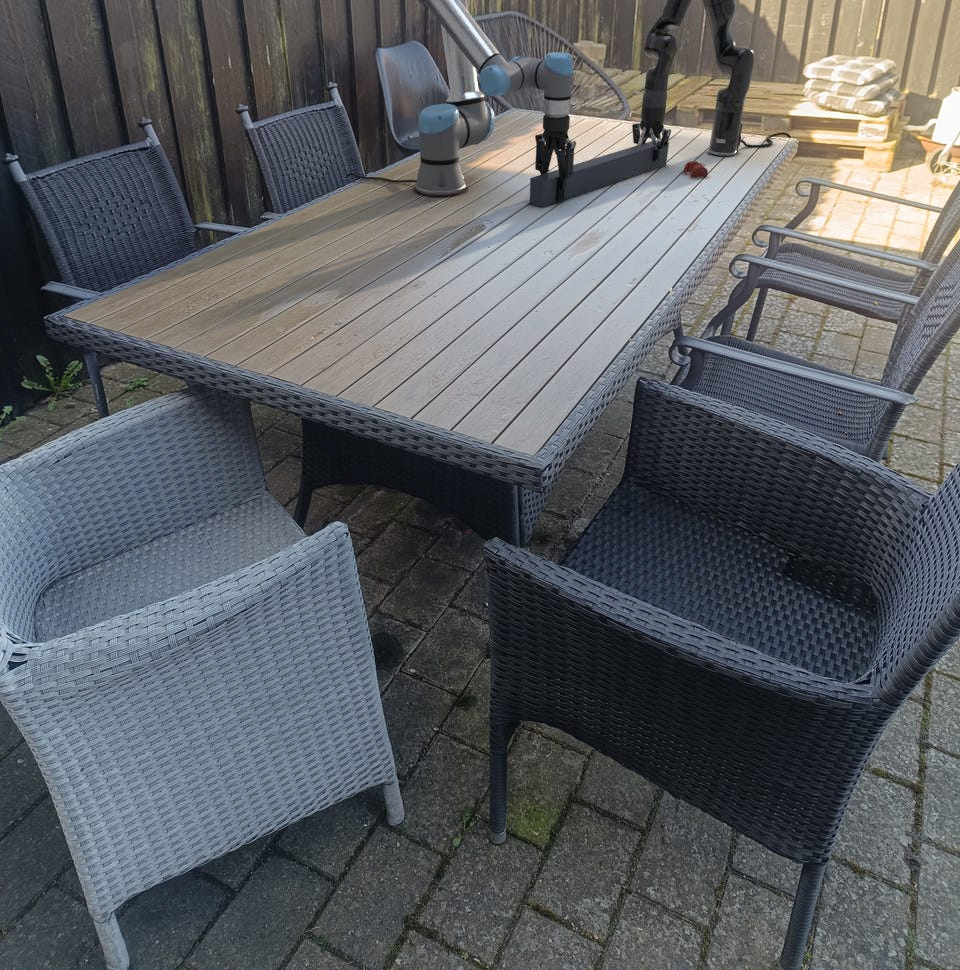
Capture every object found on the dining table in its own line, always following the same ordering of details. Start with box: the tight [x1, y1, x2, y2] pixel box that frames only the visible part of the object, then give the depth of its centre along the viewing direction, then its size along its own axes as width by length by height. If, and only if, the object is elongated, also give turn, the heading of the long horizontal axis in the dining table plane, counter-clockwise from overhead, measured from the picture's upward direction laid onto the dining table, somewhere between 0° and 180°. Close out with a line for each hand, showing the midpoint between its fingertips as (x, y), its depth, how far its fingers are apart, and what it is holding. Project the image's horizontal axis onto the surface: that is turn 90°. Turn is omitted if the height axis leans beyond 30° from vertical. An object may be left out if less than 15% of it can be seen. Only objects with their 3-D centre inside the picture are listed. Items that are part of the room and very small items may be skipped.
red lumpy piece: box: [683, 160, 709, 178], centre depth 270 cm, size 6×4×8 cm
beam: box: [529, 140, 670, 208], centre depth 262 cm, size 63×5×7 cm, turn 135°
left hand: (552, 198), depth 250 cm, fingers closed on beam, 5 cm apart
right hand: (647, 159), depth 276 cm, fingers closed on beam, 5 cm apart
